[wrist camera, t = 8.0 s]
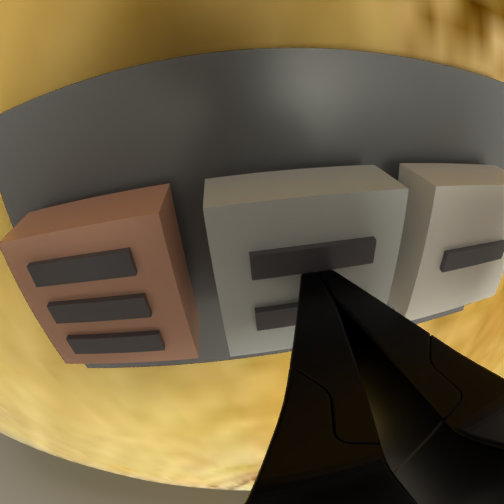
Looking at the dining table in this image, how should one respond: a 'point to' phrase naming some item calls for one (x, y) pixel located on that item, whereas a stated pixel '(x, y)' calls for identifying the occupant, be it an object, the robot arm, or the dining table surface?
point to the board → (240, 136)
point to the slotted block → (108, 277)
